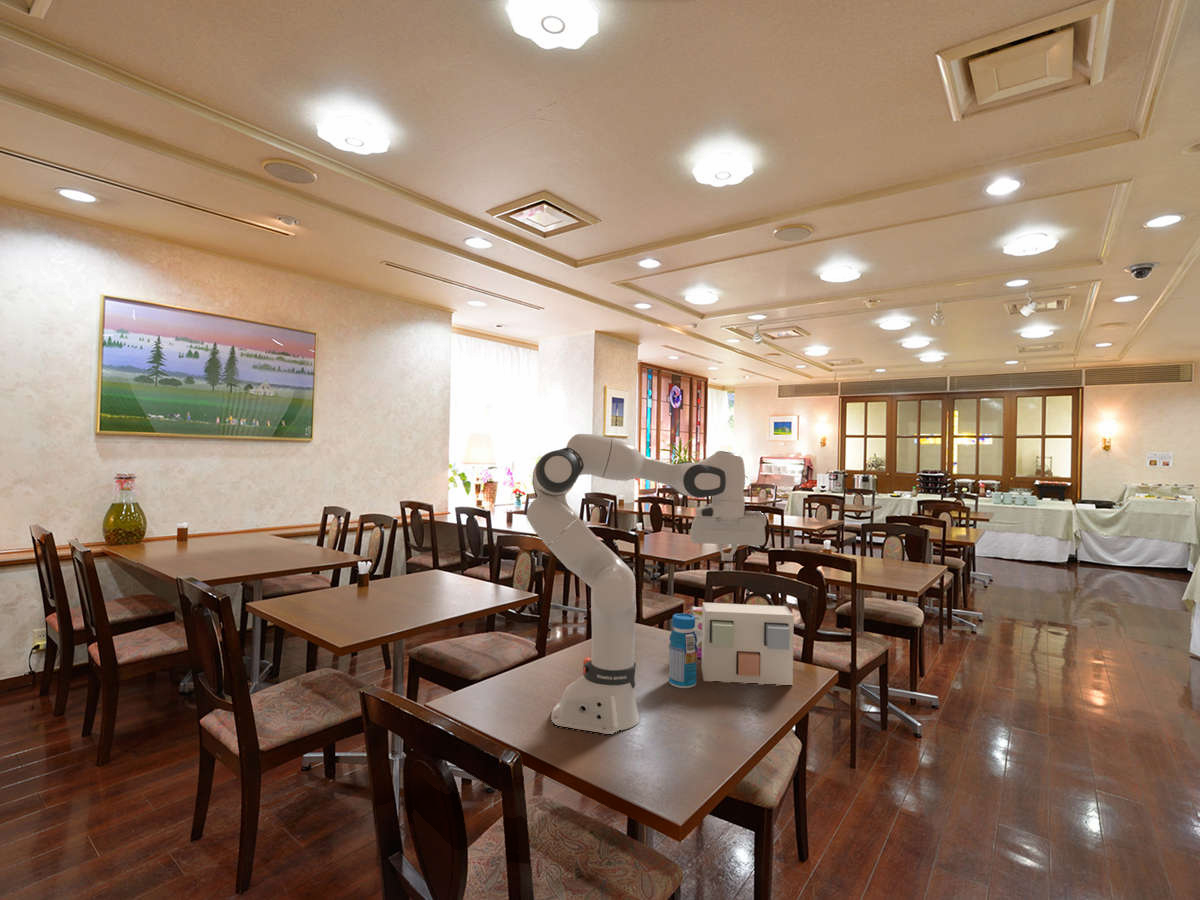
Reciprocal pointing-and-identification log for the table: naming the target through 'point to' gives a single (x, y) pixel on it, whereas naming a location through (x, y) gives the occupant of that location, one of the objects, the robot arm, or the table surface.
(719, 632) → the sage-green button
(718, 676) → the button panel
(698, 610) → the candy bar box
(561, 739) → the table surface
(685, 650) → the beverage bottle
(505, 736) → the table surface
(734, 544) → the robot arm
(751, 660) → the terracotta button
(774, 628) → the slate-blue button
